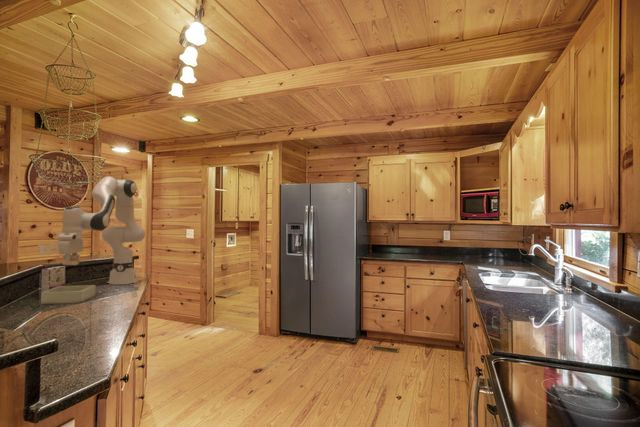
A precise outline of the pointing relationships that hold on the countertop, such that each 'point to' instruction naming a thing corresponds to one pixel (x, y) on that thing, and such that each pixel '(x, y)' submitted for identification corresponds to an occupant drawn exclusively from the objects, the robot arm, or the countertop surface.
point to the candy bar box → (53, 277)
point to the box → (68, 294)
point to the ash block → (72, 260)
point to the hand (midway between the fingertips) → (71, 261)
